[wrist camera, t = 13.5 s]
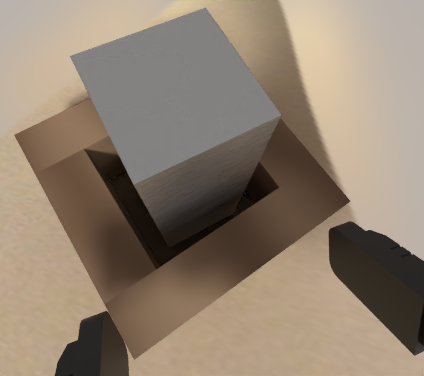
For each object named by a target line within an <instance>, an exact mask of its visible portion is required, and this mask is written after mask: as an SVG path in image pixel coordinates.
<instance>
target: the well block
mask: <svg viewBox="0 0 424 376" xmlns="http://www.w3.org/2000/svg"><path fill="white" fill-rule="evenodd" d="M15 137H16V139H17V141H18V143H19V145H20V147H21V148H22V150H23V152H24V154H25V156H26V158H27V160H28V162H29V163H30V165H31V167H32V169H33V171H34V173H35V175H36V177H37V178H38V180H39V182H40V184H41V186H42V188H43V190H44V192H45V193H46V195H47V197H48V199H49V201H50V203H51V205H52V207H53V208H54V210H55V212H56V214H57V216H58V218H59V220H60V222H61V223H62V225H63V227H64V229H65V231H66V233H67V235H68V237H69V238H70V240H71V242H72V244H73V246H74V248H75V250H76V252H77V253H78V255H79V257H80V259H81V261H82V263H83V265H84V267H85V268H86V270H87V272H88V274H89V276H90V278H91V280H92V282H93V283H94V285H95V287H96V289H97V291H98V293H99V295H100V297H101V298H102V300H103V302H104V304H105V306H106V308H107V310H108V312H109V313H110V315H111V317H112V319H113V321H114V323H115V325H116V327H117V328H118V330H119V332H120V334H121V336H122V338H123V340H124V342H125V343H126V345H127V347H128V349H129V351H130V353H131V355H132V357H133V358H134V360H135V359H136V358H137V357H139V356H140V355H141V354H143V353H144V352H145V351H147V350H148V349H150V348H151V347H152V346H154V345H155V344H156V343H158V342H159V341H160V340H162V339H163V338H165V337H166V336H167V335H169V334H170V333H171V332H173V331H174V330H175V329H177V328H178V327H180V326H181V325H182V324H184V323H185V322H186V321H188V320H189V319H190V318H192V317H193V316H195V315H196V314H197V313H199V312H200V311H201V310H203V309H204V308H205V307H207V306H208V305H210V304H211V303H212V302H214V301H215V300H216V299H218V298H219V297H220V296H222V295H223V294H225V293H226V292H227V291H229V290H230V289H231V288H233V287H234V286H236V285H237V284H238V283H240V282H241V281H242V280H244V279H245V278H246V277H248V276H249V275H251V274H252V273H253V272H255V271H256V270H257V269H259V268H260V267H261V266H263V265H264V264H266V263H267V262H268V261H270V260H271V259H272V258H274V257H275V256H276V255H278V254H279V253H281V252H282V251H283V250H285V249H286V248H287V247H289V246H290V245H291V244H293V243H294V242H296V241H297V240H298V239H300V238H301V237H302V236H304V235H305V234H306V233H308V232H309V231H311V230H312V229H313V228H315V227H316V226H317V225H319V224H320V223H321V222H323V221H324V220H326V219H327V218H328V217H330V216H331V215H332V214H334V213H335V212H336V211H338V210H339V209H341V208H342V207H343V206H345V205H346V204H347V203H349V202H350V200H349V199H348V198H347V197H346V195H345V194H344V193H343V192H342V191H341V190H340V188H339V187H338V186H337V185H336V184H335V182H334V181H333V180H332V179H331V178H330V177H329V175H328V174H327V173H326V172H325V171H324V169H323V168H322V167H321V166H320V165H319V164H318V162H317V161H316V160H315V159H314V158H313V156H312V155H311V154H310V153H309V152H308V151H307V149H306V148H305V147H304V146H303V145H302V143H301V142H300V141H299V140H298V139H297V138H296V136H295V135H294V134H293V133H292V132H291V130H290V129H289V128H288V127H287V126H286V125H285V123H284V122H283V121H282V120H281V119H280V120H279V122H278V124H277V126H276V128H275V130H274V132H273V134H272V136H271V138H270V140H269V142H268V144H267V146H266V148H265V150H264V152H263V154H262V156H261V158H260V160H259V162H258V164H257V166H256V168H255V171H254V173H253V175H252V177H251V179H250V181H249V183H248V185H247V187H246V189H245V191H246V192H247V193H248V195H249V196H250V198H251V199H252V200H253V202H254V203H255V204H254V205H252V206H251V207H249V208H248V209H246V210H245V211H243V212H242V213H240V214H239V215H237V216H236V217H234V218H233V219H231V220H230V221H228V222H227V223H225V224H224V225H222V226H221V227H219V228H218V229H216V230H215V231H213V232H212V233H210V234H209V235H207V236H206V237H204V238H203V239H201V240H200V241H198V242H197V243H195V244H194V245H192V246H191V247H189V248H188V249H186V250H185V251H183V252H182V253H180V254H179V255H177V256H176V257H174V258H173V259H171V260H170V261H168V262H167V263H165V264H164V265H162V266H160V265H159V263H158V262H157V260H156V258H155V257H154V255H153V253H152V252H151V250H150V248H149V247H148V245H147V243H146V242H145V240H144V238H143V237H142V235H141V234H140V232H139V230H138V229H137V227H136V225H135V224H134V222H133V220H132V219H131V217H130V215H129V214H128V212H127V210H126V209H125V207H124V206H123V204H122V202H121V201H120V199H119V197H118V196H117V194H116V192H115V191H114V189H113V187H112V186H111V184H110V182H109V180H111V179H113V178H114V177H116V176H118V175H120V174H122V173H123V172H125V171H126V169H125V166H124V164H123V162H122V160H121V158H120V156H119V154H118V152H117V150H116V148H115V146H114V144H113V142H112V140H111V138H110V136H109V134H108V132H107V130H106V128H105V126H104V124H103V122H102V120H101V118H100V116H99V114H98V112H97V110H96V108H95V106H94V104H93V102H92V100H91V98H90V99H88V100H86V101H84V102H81V103H79V104H77V105H75V106H73V107H71V108H69V109H67V110H65V111H63V112H61V113H59V114H57V115H55V116H53V117H51V118H48V119H46V120H44V121H42V122H40V123H38V124H36V125H34V126H32V127H30V128H28V129H26V130H24V131H22V132H20V133H17V134H15Z"/></svg>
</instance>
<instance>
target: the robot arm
mask: <svg viewBox="0 0 424 376" xmlns="http://www.w3.org/2000/svg"><path fill="white" fill-rule="evenodd" d="M329 260H330V265H331V268H332V270H333V272H334V273H335V275H336V276H337V277H338V278H339V279H340V280H341V281H342V282H343V283H344V284H345V285H346V286H347V288H348V289H349V290H350V291H351V292H352V293H353V294H354V295H355V296H356V297H357V298H358V299H359V300H360V301H361V302H362V303H363V304H364V305H365V306H366V307H367V308H368V309H369V310H370V311H371V312H372V313H373V314H374V315H375V316H376V317H377V318H378V319H379V320H380V321H381V322H382V323H383V324H384V325H385V326H386V327H387V328H388V329H389V330H390V331H391V332H392V333H393V334H394V335H395V336H396V337H397V338H398V339H399V340H400V341H401V343H402V344H403V345H404V346H405V347H406V348H407V349H408V350H409V351H410V352H411V353H412V354H413V355H414V356H415V355H417V354H419V353H421V352H423V351H424V261H423V260H421V259H420V258H418V257H417V256H415V255H414V254H413V255H412V254H411V252H409V251H408V250H406V249H405V248H403V247H400V245H399V244H398V243H396V242H394V241H393V240H392V239H390V238H389V237H387V236H385V235H383V234H380V233H377V232H374V231H372V230H368V231H365V230H363V229H362V228H361V227H359V226H358V225H357V224H355V223H353V222H347V223H344V224H341V225H338V226H336V227H333V228H331V229H330V230H329ZM55 376H129V367H128V354H127V349H126V346H125V343H124V340H123V338H122V337H121V335H120V333H119V331H118V329H117V327H116V325H115V324H114V322H113V320H112V318H111V316H110V314H109V313H108V312H107V311H105V312H102V313H99V314H97V315H94V316H91V317H89V318H86V319H83V320H82V321H81V323H80V329H79V336H78V340H77V341H74V342H72V343H69V344H67V346H66V348H65V350H64V352H63V354H62V355H61V357H60V359H59V361H58V363H57V368H56V373H55Z"/></svg>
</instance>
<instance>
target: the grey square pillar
mask: <svg viewBox="0 0 424 376" xmlns="http://www.w3.org/2000/svg"><path fill="white" fill-rule="evenodd" d="M70 57H71V59H72V61H73V63H74V65H75V67H76V69H77V71H78V73H79V75H80V77H81V79H82V82H83V84H84V86H85V88H86V90H87V92H88V94H89V96H90V98H91V100H92V102H93V104H94V106H95V108H96V110H97V112H98V114H99V116H100V118H101V120H102V122H103V124H104V126H105V128H106V130H107V132H108V134H109V136H110V138H111V140H112V142H113V144H114V146H115V148H116V150H117V152H118V154H119V156H120V158H121V160H122V162H123V164H124V166H125V169H126V171H127V173H128V175H129V177H130V179H131V181H132V183H133V185H134V186H135V188H136V190H137V192H138V194H139V195H140V197H141V199H142V201H143V202H144V204H145V206H146V208H147V209H148V211H149V213H150V215H151V216H152V218H153V220H154V222H155V223H156V225H157V227H158V229H159V231H160V232H161V234H162V236H163V238H164V239H165V241H166V243H167V245H168V246H169V247H171V246H173V245H175V244H177V243H179V242H180V241H182V240H184V239H186V238H188V237H190V236H192V235H194V234H196V233H197V232H199V231H201V230H203V229H205V228H207V227H209V226H211V225H212V224H214V223H216V222H218V221H220V220H222V219H224V218H226V217H228V216H229V215H231V214H233V213H234V211H235V209H236V207H237V205H238V203H239V201H240V199H241V197H242V195H243V193H244V191H245V189H246V187H247V185H248V183H249V181H250V179H251V177H252V175H253V173H254V171H255V168H256V166H257V164H258V162H259V160H260V158H261V156H262V154H263V152H264V150H265V148H266V146H267V144H268V142H269V140H270V138H271V136H272V134H273V132H274V130H275V128H276V126H277V124H278V122H279V120H280V118H281V113H280V112H279V111H278V109H277V108H276V106H275V105H274V103H273V102H272V101H271V99H270V98H269V96H268V95H267V94H266V92H265V91H264V89H263V88H262V87H261V85H260V84H259V82H258V81H257V79H256V78H255V77H254V75H253V74H252V72H251V71H250V70H249V68H248V67H247V65H246V64H245V63H244V61H243V60H242V58H241V57H240V55H239V54H238V53H237V51H236V50H235V48H234V47H233V46H232V44H231V43H230V41H229V40H228V39H227V37H226V36H225V34H224V33H223V31H222V30H221V29H220V27H219V26H218V24H217V23H216V22H215V20H214V19H213V17H212V16H211V15H210V13H209V12H208V10H207V9H206V8H204V9H201V10H198V11H196V12H193V13H190V14H187V15H184V16H181V17H179V18H176V19H173V20H170V21H167V22H165V23H162V24H159V25H156V26H153V27H151V28H148V29H145V30H142V31H139V32H137V33H134V34H131V35H128V36H125V37H123V38H120V39H117V40H114V41H111V42H109V43H106V44H103V45H100V46H98V47H94V48H92V49H89V50H86V51H83V52H81V53H78V54H75V55H72V56H70Z"/></svg>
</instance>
